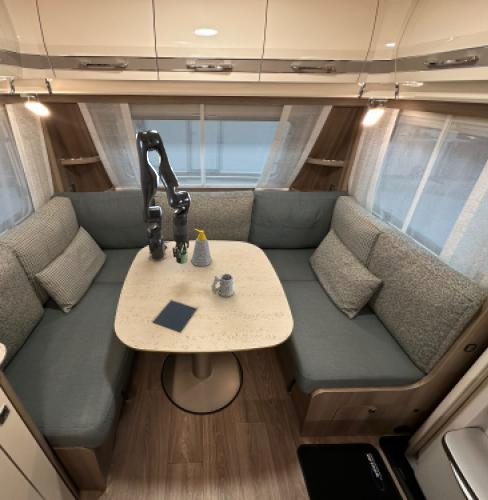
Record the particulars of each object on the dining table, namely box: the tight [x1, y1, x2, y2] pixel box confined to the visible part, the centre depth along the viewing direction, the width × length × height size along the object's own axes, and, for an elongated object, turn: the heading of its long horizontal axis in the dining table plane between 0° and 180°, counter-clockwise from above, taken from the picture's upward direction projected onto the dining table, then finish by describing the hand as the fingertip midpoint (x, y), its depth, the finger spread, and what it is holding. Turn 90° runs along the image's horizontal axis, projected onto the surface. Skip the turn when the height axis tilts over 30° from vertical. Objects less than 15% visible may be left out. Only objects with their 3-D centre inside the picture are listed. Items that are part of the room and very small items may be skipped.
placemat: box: [152, 300, 197, 333], centre depth 124 cm, size 16×14×1 cm
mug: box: [211, 273, 234, 298], centre depth 135 cm, size 8×12×12 cm, turn 110°
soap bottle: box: [191, 228, 212, 267], centre depth 160 cm, size 12×12×20 cm
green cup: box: [178, 250, 189, 265], centre depth 141 cm, size 6×6×6 cm
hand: (181, 259), depth 142 cm, fingers closed on green cup, 6 cm apart
